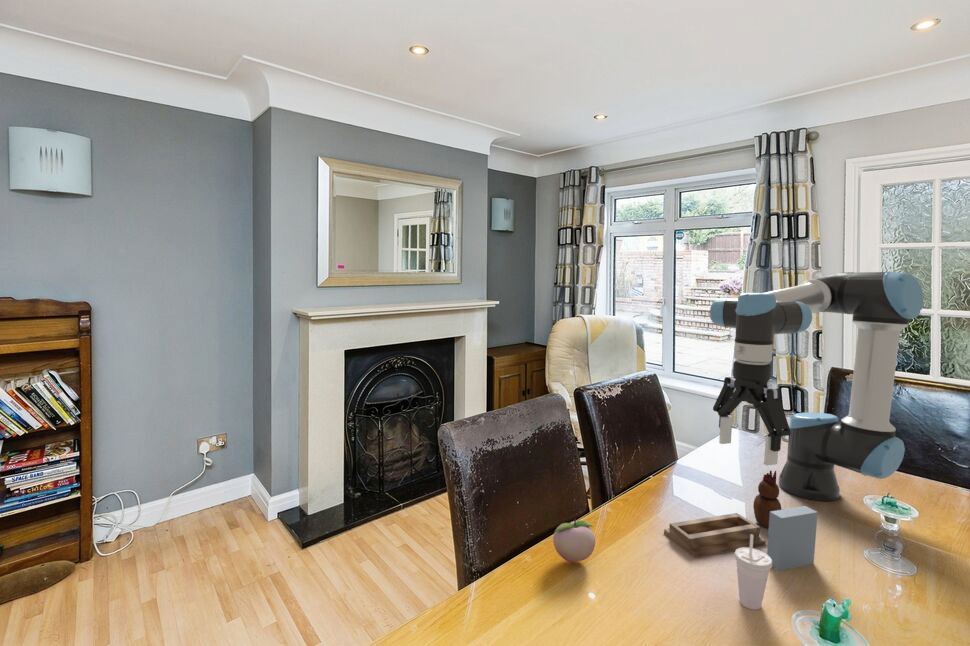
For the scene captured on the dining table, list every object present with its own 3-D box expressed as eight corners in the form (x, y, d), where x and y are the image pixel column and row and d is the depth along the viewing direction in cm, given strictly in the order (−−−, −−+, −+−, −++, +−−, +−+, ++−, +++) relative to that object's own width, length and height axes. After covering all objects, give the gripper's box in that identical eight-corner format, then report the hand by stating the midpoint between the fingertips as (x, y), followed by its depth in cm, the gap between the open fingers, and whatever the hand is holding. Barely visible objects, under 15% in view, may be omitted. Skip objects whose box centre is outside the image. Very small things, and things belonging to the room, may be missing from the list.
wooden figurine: (784, 532, 121) (788, 474, 119) (758, 530, 122) (762, 472, 120) (773, 519, 127) (777, 464, 126) (749, 517, 129) (753, 462, 127)
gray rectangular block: (801, 556, 111) (805, 505, 109) (813, 563, 108) (817, 512, 107) (766, 563, 108) (769, 511, 107) (777, 571, 105) (781, 518, 104)
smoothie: (725, 593, 98) (729, 526, 96) (755, 591, 98) (759, 525, 97) (744, 615, 91) (749, 544, 90) (777, 613, 92) (781, 543, 90)
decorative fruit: (569, 579, 102) (570, 533, 101) (546, 558, 109) (547, 516, 108) (603, 566, 106) (605, 523, 105) (580, 548, 113) (581, 507, 112)
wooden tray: (730, 522, 126) (731, 509, 125) (765, 544, 115) (766, 531, 115) (664, 532, 120) (664, 519, 120) (694, 557, 110) (695, 543, 109)
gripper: (700, 353, 120) (696, 436, 122) (785, 373, 96) (778, 476, 98) (726, 352, 122) (721, 434, 124) (815, 371, 98) (807, 473, 100)
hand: (746, 453), depth 111 cm, fingers open, 13 cm apart
